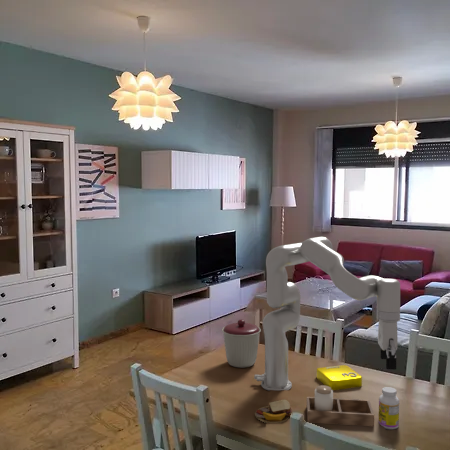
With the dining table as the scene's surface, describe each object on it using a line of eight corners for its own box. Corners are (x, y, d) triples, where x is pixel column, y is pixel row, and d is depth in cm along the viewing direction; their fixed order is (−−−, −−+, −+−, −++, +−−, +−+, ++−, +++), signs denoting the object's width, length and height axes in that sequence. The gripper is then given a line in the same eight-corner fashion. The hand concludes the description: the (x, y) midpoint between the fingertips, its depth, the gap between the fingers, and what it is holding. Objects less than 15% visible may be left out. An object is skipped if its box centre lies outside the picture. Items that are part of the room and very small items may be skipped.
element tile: (345, 373, 214) (346, 363, 214) (363, 387, 200) (364, 376, 199) (314, 377, 211) (314, 366, 210) (330, 391, 196) (330, 380, 196)
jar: (314, 419, 171) (315, 391, 170) (314, 410, 177) (314, 384, 176) (333, 420, 170) (333, 392, 169) (331, 411, 176) (332, 385, 175)
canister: (220, 357, 234) (219, 315, 232) (257, 356, 236) (257, 313, 234) (224, 372, 216) (224, 326, 214) (264, 370, 218) (264, 324, 216)
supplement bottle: (375, 421, 170) (376, 385, 169) (393, 420, 171) (394, 385, 170) (383, 430, 164) (383, 394, 163) (402, 429, 164) (402, 393, 163)
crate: (307, 424, 168) (307, 411, 168) (306, 409, 180) (306, 396, 179) (374, 428, 165) (374, 414, 165) (368, 412, 177) (368, 400, 176)
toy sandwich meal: (254, 409, 181) (254, 397, 180) (290, 409, 180) (290, 397, 180) (255, 425, 168) (255, 412, 168) (294, 426, 168) (294, 412, 168)
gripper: (372, 308, 174) (372, 355, 176) (381, 321, 157) (381, 373, 159) (394, 309, 173) (394, 355, 175) (405, 322, 156) (405, 373, 158)
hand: (388, 363), depth 167 cm, fingers open, 9 cm apart
